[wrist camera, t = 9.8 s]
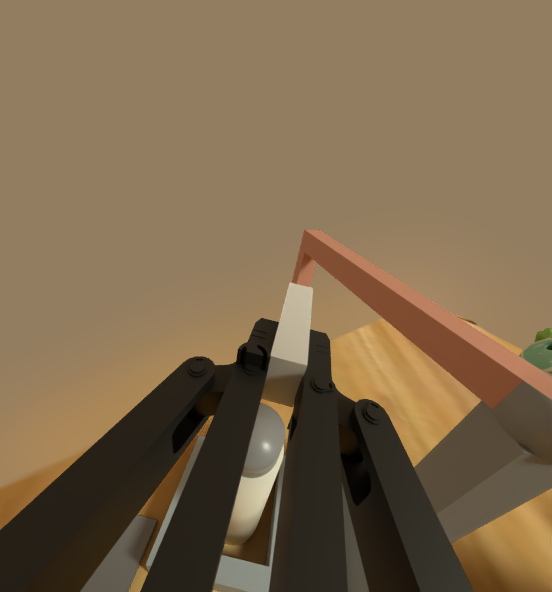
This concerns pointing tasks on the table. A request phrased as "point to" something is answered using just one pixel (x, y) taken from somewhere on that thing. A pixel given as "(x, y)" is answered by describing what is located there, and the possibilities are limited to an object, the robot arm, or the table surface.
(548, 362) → the turtle holder
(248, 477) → the bottle
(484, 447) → the dock
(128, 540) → the mat
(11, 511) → the table surface
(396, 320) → the pink bent bar
